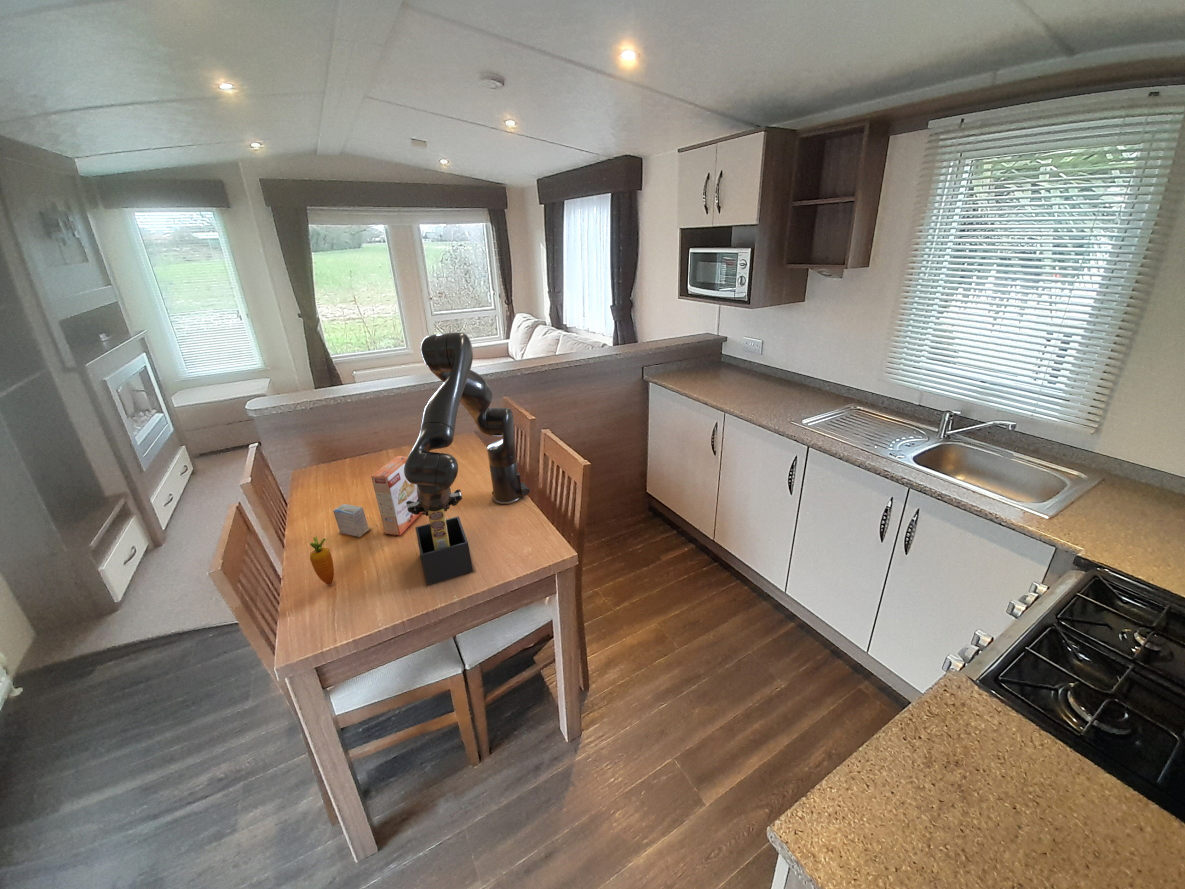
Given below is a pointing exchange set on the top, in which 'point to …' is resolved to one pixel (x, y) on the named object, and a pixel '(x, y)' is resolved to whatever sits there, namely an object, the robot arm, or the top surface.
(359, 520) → the medicine box
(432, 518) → the candy box
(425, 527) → the waste bin
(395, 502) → the cracker box
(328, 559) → the carrot
